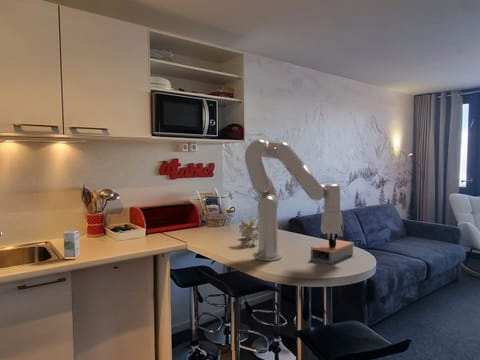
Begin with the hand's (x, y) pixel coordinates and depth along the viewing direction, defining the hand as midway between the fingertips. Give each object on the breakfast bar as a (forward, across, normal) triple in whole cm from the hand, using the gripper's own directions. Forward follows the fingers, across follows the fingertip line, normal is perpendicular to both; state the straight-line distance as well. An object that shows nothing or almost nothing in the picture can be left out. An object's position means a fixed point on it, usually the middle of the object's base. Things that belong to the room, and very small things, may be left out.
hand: (332, 246), depth 165 cm
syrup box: (+6, -102, -87) cm, 134 cm away
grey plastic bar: (+6, -3, +4) cm, 8 cm away
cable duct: (+6, -3, +4) cm, 8 cm away
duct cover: (+1, -2, +4) cm, 5 cm away
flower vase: (+6, -57, +1) cm, 58 cm away
